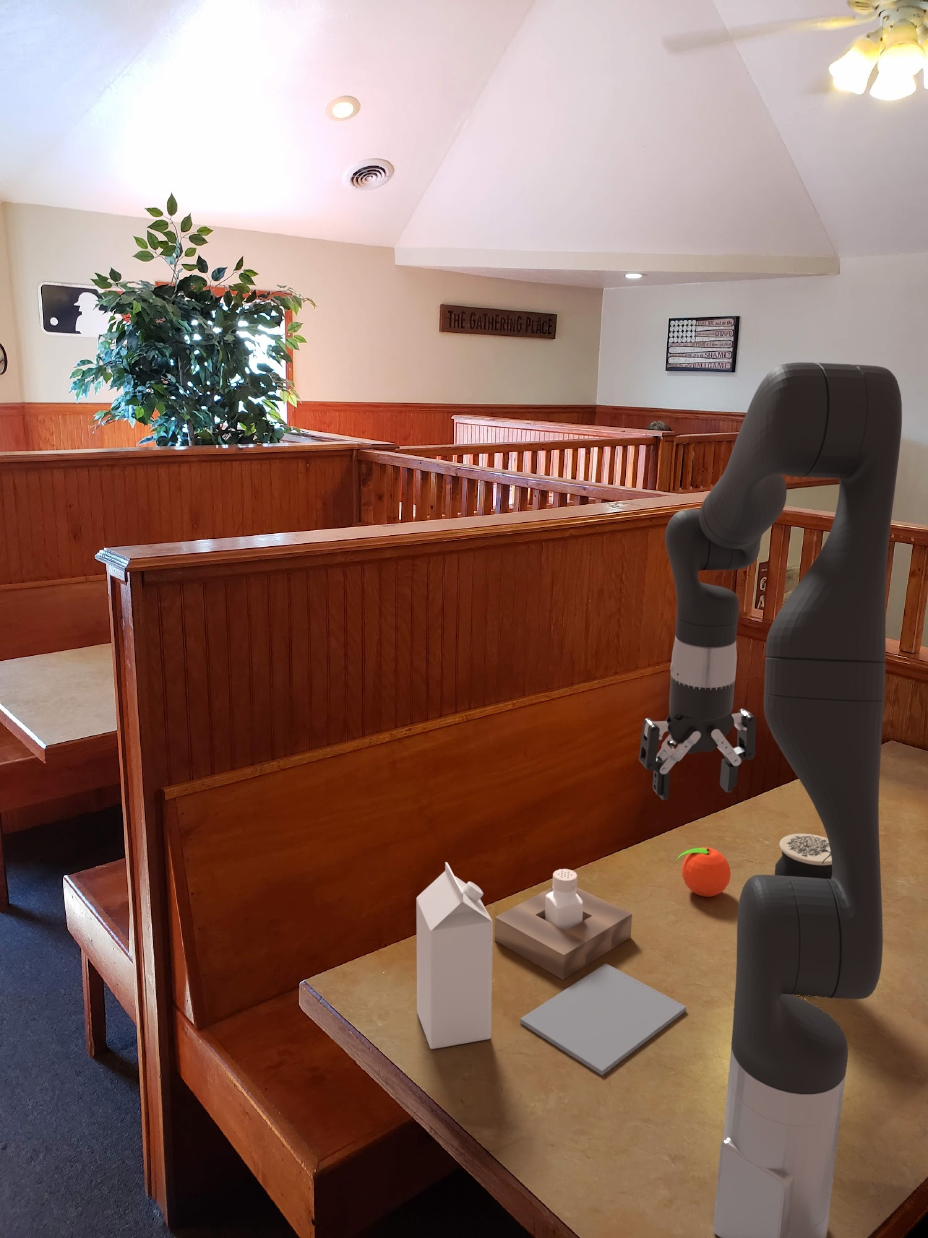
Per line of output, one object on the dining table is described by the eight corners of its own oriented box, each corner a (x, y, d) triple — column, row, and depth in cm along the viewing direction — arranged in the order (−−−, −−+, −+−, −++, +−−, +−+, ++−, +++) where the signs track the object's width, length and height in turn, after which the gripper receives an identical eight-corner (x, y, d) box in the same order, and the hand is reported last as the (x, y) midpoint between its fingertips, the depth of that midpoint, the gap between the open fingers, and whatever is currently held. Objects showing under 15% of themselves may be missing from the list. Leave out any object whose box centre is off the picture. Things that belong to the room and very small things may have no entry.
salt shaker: (583, 944, 127) (585, 879, 125) (556, 950, 126) (558, 884, 123) (569, 928, 131) (571, 865, 128) (542, 934, 129) (544, 870, 127)
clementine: (673, 902, 137) (676, 857, 136) (672, 879, 144) (674, 835, 142) (730, 908, 136) (734, 862, 134) (726, 884, 143) (730, 840, 141)
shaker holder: (563, 980, 119) (564, 955, 118) (494, 940, 128) (494, 917, 127) (630, 937, 129) (632, 913, 128) (562, 903, 137) (563, 881, 136)
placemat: (601, 1076, 103) (602, 1071, 102) (520, 1023, 111) (520, 1018, 111) (686, 1011, 113) (686, 1006, 113) (605, 967, 122) (605, 963, 122)
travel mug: (753, 975, 120) (764, 844, 116) (787, 952, 125) (800, 826, 121) (810, 1006, 115) (824, 869, 110) (844, 980, 120) (859, 849, 115)
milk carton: (430, 1051, 106) (430, 897, 102) (416, 1012, 113) (415, 866, 108) (491, 1040, 108) (494, 888, 104) (474, 1002, 115) (475, 858, 110)
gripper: (658, 690, 110) (652, 814, 115) (773, 679, 112) (761, 801, 117) (635, 666, 117) (629, 785, 122) (743, 656, 119) (733, 773, 124)
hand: (694, 792), depth 120 cm, fingers open, 8 cm apart
